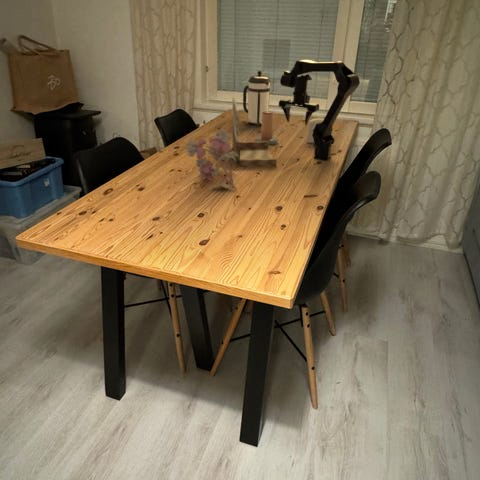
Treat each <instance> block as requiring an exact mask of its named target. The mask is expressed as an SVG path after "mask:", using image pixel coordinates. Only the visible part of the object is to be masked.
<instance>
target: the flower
mask: <svg viewBox="0 0 480 480" xmlns="http://www.w3.org/2000/svg"><path fill="white" fill-rule="evenodd" d="M228 131H229V130H228V128H226V130H224V128H221V129H218V130H217V131H216V132H215V136H211V137H210V138H209V141H208V142H209V145H208V144H207V140H206V138H204V137H200V138H199V139H198V140H197V142H195V140H194V139H188V140H187V143H186V147H184V146H183V145H182V146H181V148H183V149H186V152H187V154H186V155H187V156H188V157H190V158H192V157H194V156H195V154H196V160H195V162H196V163H195V166H196V167H199V168H198V172H199V174H198V177H199V178H200V177H201V178H203V180H206V179H207V180H208V181H213V180H214V179H215V176H216V177H217V176H219V177H220V179H222V180H224V181H225V182H226V183H228V184H229V185H228V184H226V183H215V184H214V185H212V186H211V187H210V190H209V191H210V192H211V191H212V189H214V188H223V189H234V190H236V191H237V190H238V188H237V187H236V186H235V185H234V179H233V174H232V169H231V167H230V163H229V160H230V159H233V160H234V161H235V158H234V156H238V157H239V155H238V154H237V153H236V152H235V151H233V150H232V151H231V148H232V146H231V140H232V139H233V136H230V135H231V133H230V132H229V133H228ZM229 136H230V137H229ZM203 145H206V146H205V147H206V148H203V147H202V146H203ZM206 152H207V153H208V154H209V155H211V156H212V159H214V160H215V161H218V162H219V163H217V164H216V168H214V163H213V162H212V161H211V160H210V159H207V157H205V155H207V153H206ZM239 158H240V157H239ZM222 160H223V161H224V162H225V163H223V161H222ZM226 166H227V168H226ZM220 168H222V169H223V171H224V173H225V174H226V176H227V177H225V176H224V175H222V174H220ZM228 171H229V173H228Z"/></svg>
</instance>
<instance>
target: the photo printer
mask: <svg viewBox="0 0 480 480" xmlns="http://www.w3.org/2000/svg"><path fill="white" fill-rule="evenodd" d="M323 120H324V118H321V117H320V118H319V117H318V118H313V119H309V121H308V128H307V129H308V130H307V138H306V139H307V140H306V142H307V143H308V144H314V139H313V136H312V134H313V132H314V131H313V130H314V128H315V126H316V124H317V123H321V122H323Z"/></svg>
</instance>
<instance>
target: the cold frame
mask: <svg viewBox="0 0 480 480" xmlns="http://www.w3.org/2000/svg"><path fill="white" fill-rule="evenodd" d="M235 98H236V97H234V96H232V151H235V152H236V153H237V154H238V155H239V157H240V158H239V157H238V156H234V155H233V156H234V158H235V160H234V163H235V167H236V168H266V167H267V168H268V167H269V168H272V167H273V168H274V167H277V160H278V159H277V158H273V156H272V154H271V151H270V149H269V145H268V141H256V142H255V141H241V139H240V136H239V128H240V126H239V125H240V124H239V117H240V116H239V111H240V110H239V107H238V104H237V101H236V99H235Z"/></svg>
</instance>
